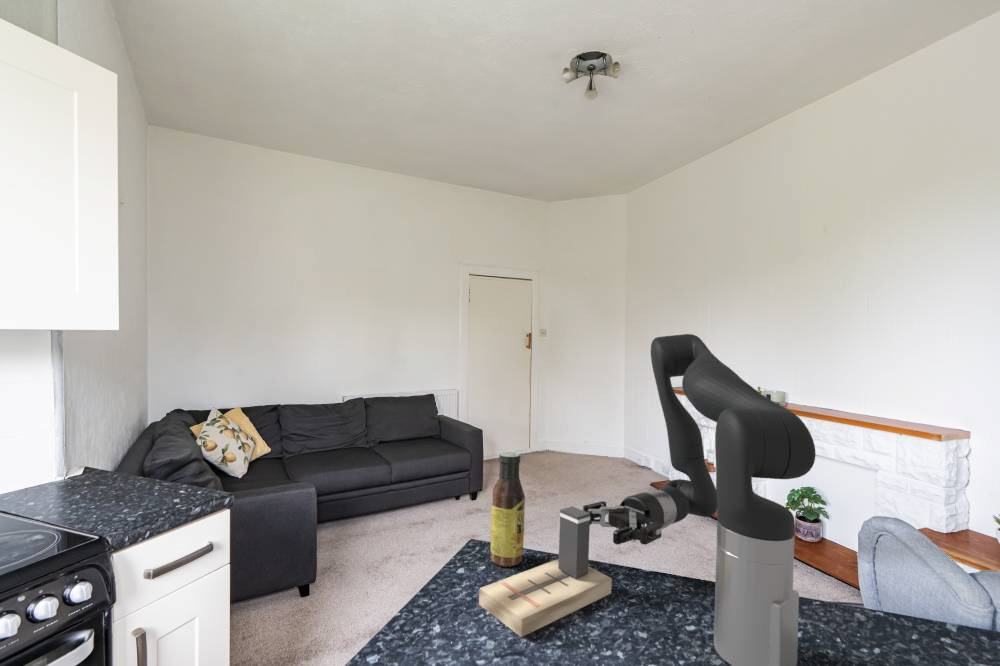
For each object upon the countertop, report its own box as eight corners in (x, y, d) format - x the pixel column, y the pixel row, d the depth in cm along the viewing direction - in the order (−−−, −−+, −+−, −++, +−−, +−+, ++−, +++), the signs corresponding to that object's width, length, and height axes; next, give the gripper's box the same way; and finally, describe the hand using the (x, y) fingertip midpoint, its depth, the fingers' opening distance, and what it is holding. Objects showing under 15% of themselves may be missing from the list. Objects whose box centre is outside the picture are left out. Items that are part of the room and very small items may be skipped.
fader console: (611, 593, 78) (611, 577, 78) (521, 637, 65) (521, 618, 65) (566, 569, 85) (567, 555, 86) (478, 604, 73) (479, 587, 73)
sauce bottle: (523, 569, 85) (527, 459, 85) (488, 567, 85) (493, 458, 85) (522, 553, 91) (526, 451, 92) (490, 551, 91) (494, 450, 92)
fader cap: (588, 573, 78) (590, 513, 79) (575, 578, 77) (578, 517, 77) (570, 563, 82) (572, 506, 82) (558, 568, 80) (560, 509, 80)
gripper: (619, 483, 98) (566, 497, 88) (682, 503, 87) (629, 521, 77) (618, 519, 98) (565, 537, 88) (681, 543, 87) (628, 567, 77)
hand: (595, 529), depth 83 cm, fingers open, 8 cm apart
